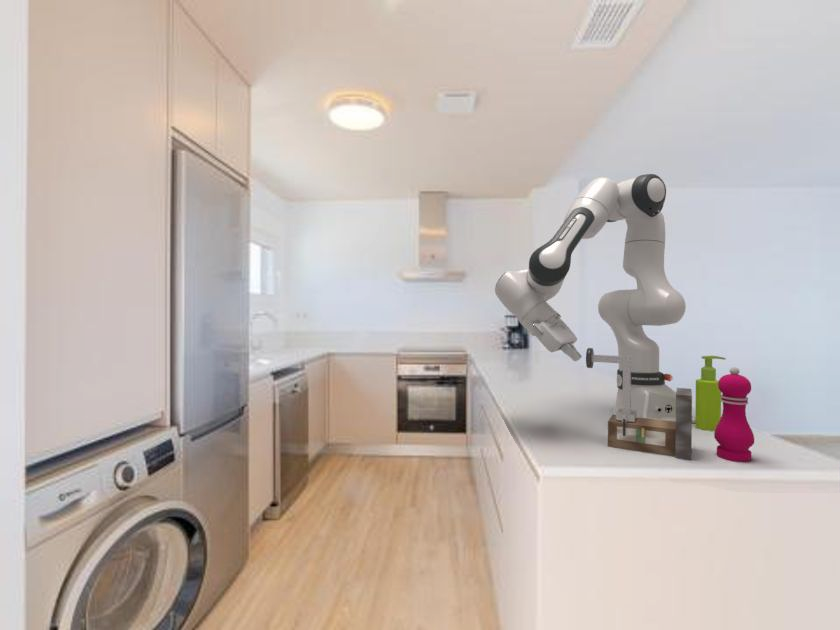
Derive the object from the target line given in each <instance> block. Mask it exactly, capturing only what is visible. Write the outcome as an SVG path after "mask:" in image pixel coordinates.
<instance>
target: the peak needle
mask: <svg viewBox="0 0 840 630" xmlns="http://www.w3.org/2000/svg"><path fill="white" fill-rule="evenodd" d="M644 433H645V428H641V437H644Z"/></svg>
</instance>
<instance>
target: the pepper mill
mask: <svg viewBox="0 0 840 630" xmlns="http://www.w3.org/2000/svg"><path fill="white" fill-rule="evenodd" d="M718 381H719V382H718V388H719V390H720V391H721V403H722V412H721V419H720V421H719V423H718V424H717V426H716V429H715V431H714V439H715V440H716V442H717V444H719V445H717V446H716V455H717V456H718V457H720V458H722V459H724V460H728V461H733V462H740V463H742V462H744V463H745V462H751V460H752V451H751V450H750V448H751V447H753V446H754V444H755V435H754V432H753V429H752V428H751V426H750V424H749V422H748V419H747V416H746V415H747V414H746V412H747V411H746V409H747V405H748V404H749V397H747V396H748V395H749V394H750V393H751V391H752V383H751V382H750V380H749V379H748V378H747V377H746V376H743V375H741V374H740V369H739V368H738V367H736V366H733V367H731V368H730V369H729V373H728V374H724V375H722V376H721V377H720V378H719V380H718Z"/></svg>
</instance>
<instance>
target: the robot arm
mask: <svg viewBox="0 0 840 630" xmlns="http://www.w3.org/2000/svg"><path fill="white" fill-rule="evenodd" d="M666 195H667V187H666V184H665V182H664V181H663V179H662V178H661V177H660V176H659V175H657V174H654V173H649V174H648V173H647V174H645V173H644V174H641V175H638V176H636V177H632V178H629V179H625V180H623V181H621V182H619V183H617V182H615V181H614V180H613V179H611V178H609V177H596V178H594V179H593V180H592V181H590V182H589V183H588V184H587V185H586V186H585V187H584V188H583V189H582V190H581V191H580V192H579V194H578V195H577V196H576V197H575V199H574V201H572V203H571V205H570V206H569V208H568V210H567V212H566V213H565V214H566V215H565V216H564V220H563V223H562V224H561V225H560V227H559V229H558V230H557V231H556V233H555V234H553V235H554V236H553V237H552V238H551V239H549V241H547V242H546V243H545V244H543V245H541V246H539V247H538V248H537V249H534V251H533V252H532V254H531V255H530V258H529V261H528V268H525V269H521V270H511V269H510V270H507V271H505V272H504V273H503V274H502V275H501V276H500V278H498V281H497V282H496V284H495V289H494V290H495V291H494V293H495V295H496V297H497V298H498V300H499V301H500V302H501V304H502V305H503V306H504V307H505V308H506V310H507V311H508V312H510V314H512V315H514V316H515V317H516V318H517V319H518V321H519V323H520V324H521V325H522V327H523V328H524V329H526V331H528V333H530V335H531V336H533V337H535V338H537V340H538V341H539V342H540V343H541V344H542V345H543V347H545V348H546V350H547V351H548V352H550V353H554V352H558V351H562V352H563V353H564V354H565V355H566V356H568V357H569V358H570V359H572V361H573V362H578V361H580V360H581V358H582V354H581V353H580V352H579V351H578V349H577V348H576V347H575V345H574V344H575V343H576V342H577V341H578V338H577V336H576V334H575V333H574V331H573V330H571V328H570V327H569V326H568V325H567V324H566V323H565V322H564V321H563V319H561V318H562V315H561V314H560V313H558V312H557V311H556V310H555V309H554V308H553V307H552V306H551V305H550V304H549V303H548V302H547V301H549V300H550V299H552V298H555V296H557V294H558V293H559V292H560V290H561V288H562V286H563V283H564V280H565V279H566V276H567V274H568V273H569V271H570V268H571V262H572V261H571V260H572V254H573V252H574V251H575V249H576V248H577V246H578V245H579V243H580V242H581V240H582V239H583V240H586V239H587V240H588V239H592V238H594V237H595V236H596V235H598V233H599V232H600V231H601V230H602V229H603V227H604V226H605V225H606V223H614V222H618V221H624V220H625V222H626V223H625V224H626V226H627V227H626V228H627V229H626V233H625V237H624V238H625V239H624V250H623V259H622V268H623V270H624V272H625V273H626V274H627V275H629V276H630V277H633V278H634V279H635V280H636V289H619V290H613V291H609V292H607V293H604V294H603V295H602V296H601V297H600V299H599V301H598V304H597V306H598V307H597V310H598V314H599V317H600V318H601V319H602V320H603V322H605V323H607V325H608V326H609V327H610V329H611V330H612V332H613V336H614V337H615V339H616V343H617V351H618V355H617V356H631V410H637V417H639V418H648V419H656V420H665V421H674V422H676V390H675V391H674V389H672V388H671V387H670V386H668V385H667V384H666V381H667V382H672V380H673V379H674V377H673V375H671V374H670V373H663V372H661V371H660V347H659V345H658V344H657V342H655V340H653V339H651V338H649V337H648V336H647V334H646V333H645V331H644V327H643V326H651V327H652V326H654V327H655V326H656V327H657V326H659V327H661V326H667V325H671V324H672V325H673V324H677V323H679V322H680V321H681V320H682V319H683V317H684V315H685V313H686V309H687V308H686V301H685V299H684V296H683V295H682V294H681V292H679V291H678V290H677V289H675V288H674V287H673V286H672V284H671V283H670V282H669V279H668V278H667V275H666V272H665V248H666V224H665V223H666V222H665V217H664V215H663V213H662V212H661V211H662V209H663V208H664V203H665V201H666V197H667V196H666ZM616 370H617V372H616V387H617V392H616V393H617V394H616V399H615V405H614V408H613V411H612V415H616V413H617V411H618V410H619V409H622V405H623V364H622V363H618V369H616ZM695 418H696V416H694V415H692V424H695Z"/></svg>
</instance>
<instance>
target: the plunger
mask: <svg viewBox="0 0 840 630" xmlns="http://www.w3.org/2000/svg"><path fill="white" fill-rule="evenodd" d="M585 354H586V355H585V363H586V368H588V369H593V368H594V363H607V364H608V363H609V364H619V363H622V364H623V405H622V409H619V410H618V411H617V413H616V420H620V421H622V423H623V436H625V435H626V422H627V421H628V422H635V420H636V418H637V410H631V356H619V355H609V354H608V355H607V354H606V355H605V354H595V352H594V348H593V347H588V348H587V349H586V353H585Z"/></svg>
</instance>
